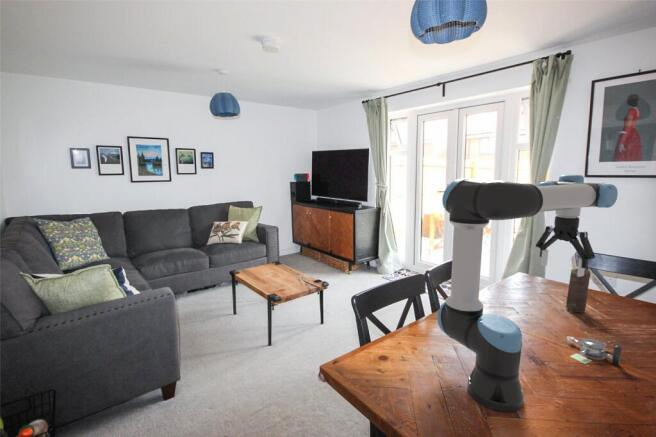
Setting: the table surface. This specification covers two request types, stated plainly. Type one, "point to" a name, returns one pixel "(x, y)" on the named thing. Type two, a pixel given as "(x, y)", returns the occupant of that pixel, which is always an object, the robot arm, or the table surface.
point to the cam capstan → (597, 349)
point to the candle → (578, 291)
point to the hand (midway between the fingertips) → (561, 270)
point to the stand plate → (583, 358)
